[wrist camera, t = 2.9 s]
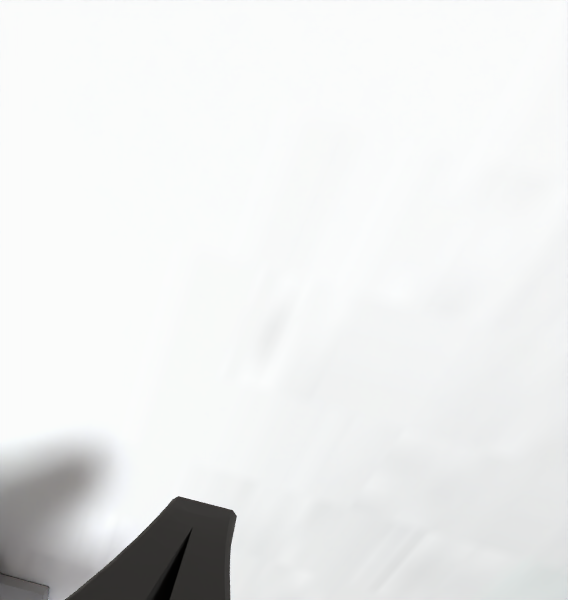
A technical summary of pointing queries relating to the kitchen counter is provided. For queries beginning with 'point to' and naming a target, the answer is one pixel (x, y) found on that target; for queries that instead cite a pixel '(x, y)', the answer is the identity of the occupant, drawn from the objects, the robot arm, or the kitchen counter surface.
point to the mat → (21, 589)
